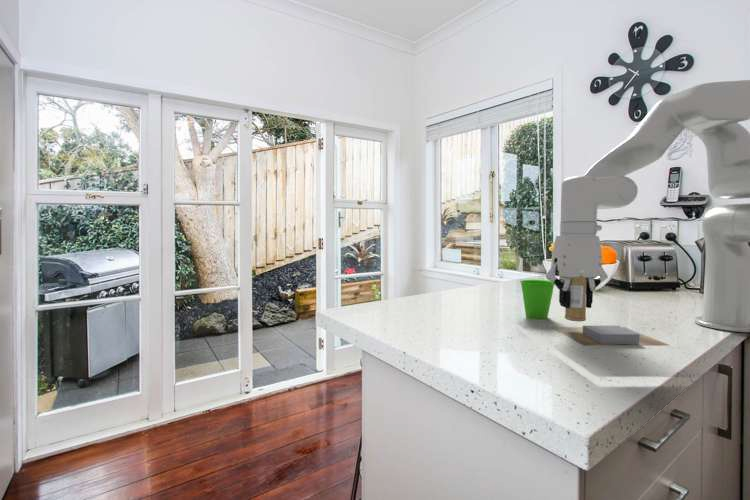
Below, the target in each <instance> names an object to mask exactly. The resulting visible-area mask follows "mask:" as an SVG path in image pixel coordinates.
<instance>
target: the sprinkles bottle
mask: <svg viewBox="0 0 750 500" xmlns="http://www.w3.org/2000/svg"><path fill="white" fill-rule="evenodd" d="M580 272H584V271H583V270H581V271H580ZM586 284H587V278H585V277H583V276H582V275H580V276H579V277H577V278H571V279H570V283H569V287H568V291H570V307H569V308H565V307H564V308H565V309H564V310H565V312H564V318H565V320H567V321H571V322H584V321H586V320H587V318H586V313H587V311H586V310H587V309H586V308H587V307H586Z"/></svg>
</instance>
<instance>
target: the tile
mask: <svg viewBox="0 0 750 500" xmlns="http://www.w3.org/2000/svg"><path fill="white" fill-rule="evenodd" d="M582 327H583V335H585V336H587V337H589V338H591V339H593V340H595V341H597V342H599V343H601V344H639V336H640V334H637V333H635V332H632V331H630V330H627V329H625V328H622V326H620V325H582Z"/></svg>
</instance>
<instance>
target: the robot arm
mask: <svg viewBox="0 0 750 500" xmlns="http://www.w3.org/2000/svg"><path fill="white" fill-rule="evenodd" d="M749 120H750V79H747V80H745V79H744V80H742V79H741V80H730V81H729V80H728V81H727V80H725V81H716V82H715V81H713V82H706V83H701V84H698V85H695V86H692V87H689V88H686V89H684V90H683V89H682V90H681V91H678V92H676V93H673V94H670V95H668V96H665V97H663V98H662V99H661V100H659V101H657V102H656V104H655V105H654V106H653V107H652V108H651V110H650V111H649V112H648V113H646V116H644V118H643V119H642V120H641V121H640V123H639V124H638V126H636V128H635V129H634V130H633V131H632V133H631V134H630V135H629V136H627V138H626V140H624V141H623V142H621V143H620V144H618V145H617V146H616V147H615V148H613V149H612V150H611V151H609V152H608V153H607V154H605V155H604V156H603V157H601V158H600V159H599V160H598V161H596V162H595V163H594V164H593V165H592V166H591V167H590V168H589V169H588V170H587V171H586V173H585V174H584V175H578V176H572V177H571V176H569V177H567V178H565V179H564V180H562V182H561V193H560V194H561V195H560V223H559V227H560V229H559V235H556V236H555V238H554V242H553V243H554V244H553V247H552V254H551V264H550V268H549V270H548V271H547V273H546V275H545V278H546V279H547V280H548V281H552V282H553V283H554V286H556V287H557V289H558V290H559V291H558V292H559V293H558V294H559V295H558V301H559V304H560V306H561V307H563V308H569V307H570V291H568V287H569V283H570V279H571V278H577V277H579V276H580V275H582V276H583V277H585V278H587V284H586V308H587V309H592V304H593V296H594V291H596V288H597V287H599V285H601V283H603V282H604V281H606V280H607V279H608V278H609V275H608V274H607V273H606V271H605V270H604V267H603V255H602V254H603V253H602V244H601V240H600V236H599V235H597V234H598V232H600V231H601V230H602V225H601V224H598V210H608V209H609V210H610V209H621V208H624V207H626V206H628V205H630V204H631V203H633V202H634V201H635V199H636V198H637V196H638V193H639V190H638V186H637V184H636V182H635V181H634V180H633V179H632V178H631V177H628V176H627V175H629V174H632V173H633V172H636V171H638V170H640V169H643V168H645V167H647V166H649V165H651V164H653V163H655V162H656V161H658V160H659V159H661V158H662V157H663V156H664V154H665V153H666V152H667V150H668V149H669V148H670V147H671V145H673V143H674V142H675V141H676V139H677V138H678V137H679V136H680V135H681V133H682V132H683V131H684V130H686V129H687V130H688V131H690V132H691V133H693V134H694V135H695V136H697V137H698V138H699V139H700V140H701V142H702V143H703V144H704V146H705V150H706V163H707V165H706V166H707V184H708V191H709V193H710V195H711V196H712V197H713V198H716V199H720V200H736V199H738V200H739V199H740V200H741V199H750V132H749V130H747V128H745V127H744V126H743V125H742V124H740V123H741V122H745V121H749ZM701 222H702V223H701V228H702V233H703V239H704V243H705V261H704V262H705V264H704V265H705V266H704V280H703V281H704V283H703V300H702V316H701V315H700V316H696V317H695V318H694V323H695V324H697V325H700V326H703V327H706V328H710V329H715V330H721V331H729V332H737V333H738V332H739V333H750V245H749V244H748V243H750V203H735V204H734V203H733V204H732V203H731V204H723V205H719V206H715V207H713V208H711V209H709V210H708V211H707V212H705V214H704V215H703V217H702V221H701ZM581 270H583V271H584V272H580V271H581ZM558 277H559V278H558Z"/></svg>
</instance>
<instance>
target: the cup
mask: <svg viewBox="0 0 750 500" xmlns="http://www.w3.org/2000/svg"><path fill="white" fill-rule="evenodd" d="M519 283H520V284H521V290H522V291H521V292H522V297H523V298H522V299H523V304H524V310H525V311H524V312H525V313H524V314H525V317H526V318H527V319H528V318H529V319H535V320H546V319H548V317H549V312H550V307H551V302H552V298H553V291H554V287H555V284H554V283H553V282H552V281H550V280H549V279H547V280H545V279H521V280H520V281H519Z"/></svg>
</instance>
